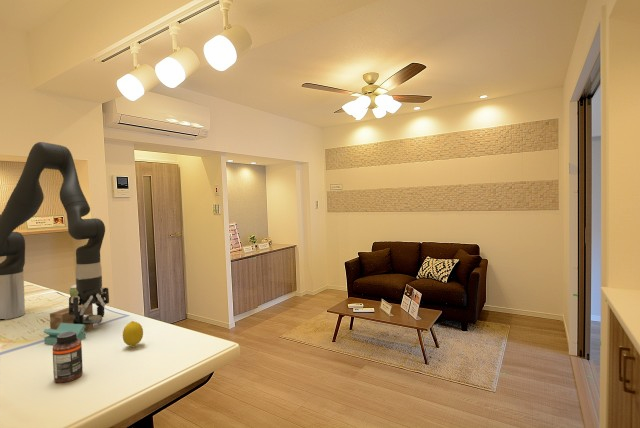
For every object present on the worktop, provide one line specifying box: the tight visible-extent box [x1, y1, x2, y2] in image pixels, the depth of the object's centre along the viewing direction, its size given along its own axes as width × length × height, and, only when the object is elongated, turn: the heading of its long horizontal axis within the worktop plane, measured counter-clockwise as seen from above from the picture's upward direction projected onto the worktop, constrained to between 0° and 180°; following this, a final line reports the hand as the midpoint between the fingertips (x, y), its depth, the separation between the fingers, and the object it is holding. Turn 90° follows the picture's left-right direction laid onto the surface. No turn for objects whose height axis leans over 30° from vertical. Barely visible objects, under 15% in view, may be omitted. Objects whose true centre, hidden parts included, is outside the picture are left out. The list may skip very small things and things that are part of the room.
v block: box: [42, 323, 86, 346], centre depth 109 cm, size 9×7×5 cm
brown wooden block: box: [49, 304, 95, 331], centre depth 120 cm, size 10×12×7 cm
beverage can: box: [69, 283, 78, 297], centre depth 136 cm, size 6×7×12 cm
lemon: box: [122, 320, 144, 348], centre depth 104 cm, size 6×6×8 cm
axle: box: [73, 314, 103, 325], centre depth 120 cm, size 14×3×3 cm, turn 79°
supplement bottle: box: [52, 331, 84, 383], centre depth 86 cm, size 6×6×11 cm
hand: (90, 321), depth 119 cm, fingers open, 8 cm apart
